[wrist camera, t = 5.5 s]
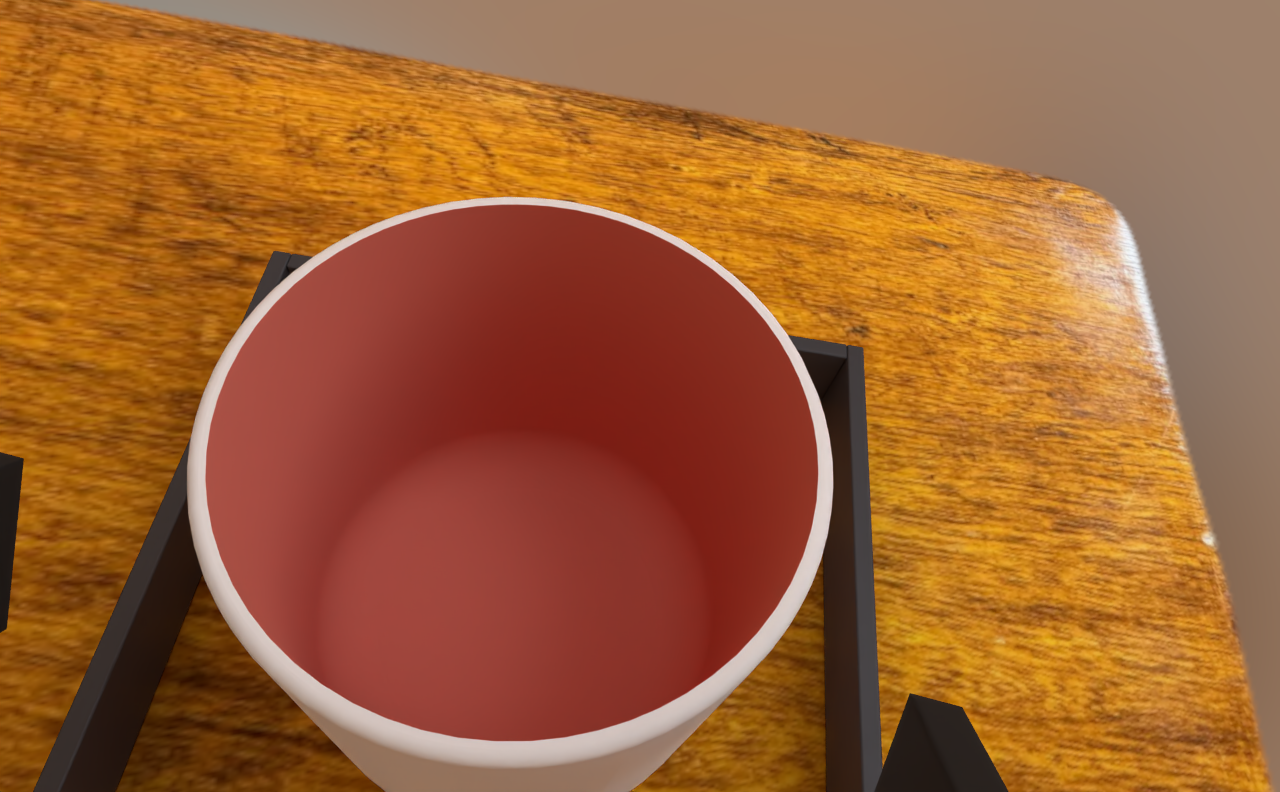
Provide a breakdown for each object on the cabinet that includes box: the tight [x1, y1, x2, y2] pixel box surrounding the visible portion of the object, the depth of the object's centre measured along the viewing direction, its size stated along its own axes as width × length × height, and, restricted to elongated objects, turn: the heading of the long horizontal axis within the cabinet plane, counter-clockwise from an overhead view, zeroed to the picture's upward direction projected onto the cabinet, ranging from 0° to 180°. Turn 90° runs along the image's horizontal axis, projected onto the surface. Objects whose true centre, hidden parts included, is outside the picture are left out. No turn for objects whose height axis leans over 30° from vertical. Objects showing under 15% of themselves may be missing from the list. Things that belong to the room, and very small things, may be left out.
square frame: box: [33, 251, 882, 792], centre depth 21 cm, size 17×17×2 cm
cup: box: [187, 197, 833, 792], centre depth 18 cm, size 10×10×10 cm
